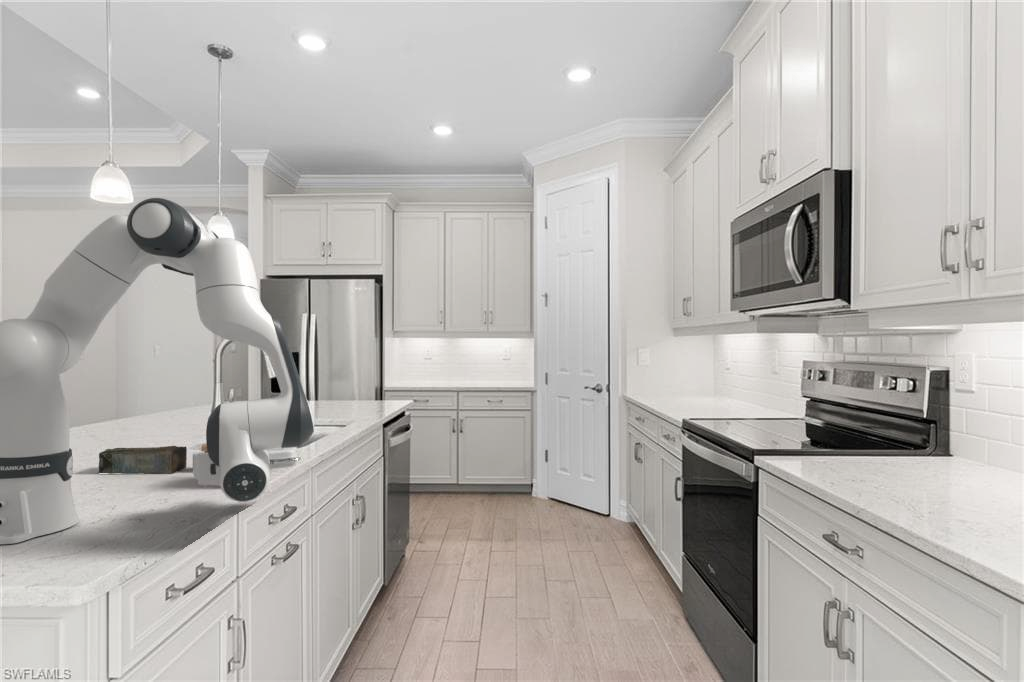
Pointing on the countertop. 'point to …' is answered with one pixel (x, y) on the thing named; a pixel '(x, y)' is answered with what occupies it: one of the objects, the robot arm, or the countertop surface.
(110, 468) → the beverage carton
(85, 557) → the countertop surface
